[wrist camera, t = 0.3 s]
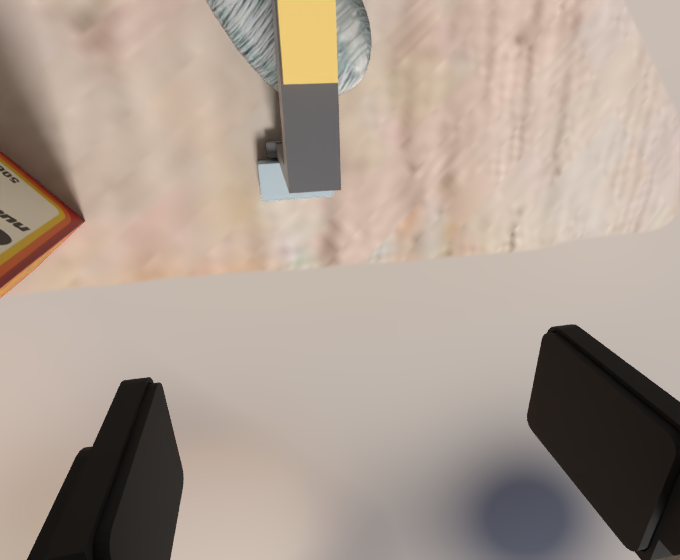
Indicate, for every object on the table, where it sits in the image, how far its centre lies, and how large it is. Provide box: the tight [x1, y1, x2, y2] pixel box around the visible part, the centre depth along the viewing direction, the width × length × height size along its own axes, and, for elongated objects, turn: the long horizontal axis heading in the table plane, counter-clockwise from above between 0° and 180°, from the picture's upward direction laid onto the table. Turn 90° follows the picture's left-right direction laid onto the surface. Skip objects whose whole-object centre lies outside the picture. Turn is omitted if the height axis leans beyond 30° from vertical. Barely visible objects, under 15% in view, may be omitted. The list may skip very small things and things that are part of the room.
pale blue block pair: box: [258, 159, 333, 201], centre depth 32 cm, size 27×6×2 cm, turn 2°
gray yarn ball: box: [206, 0, 371, 96], centre depth 29 cm, size 14×10×10 cm
